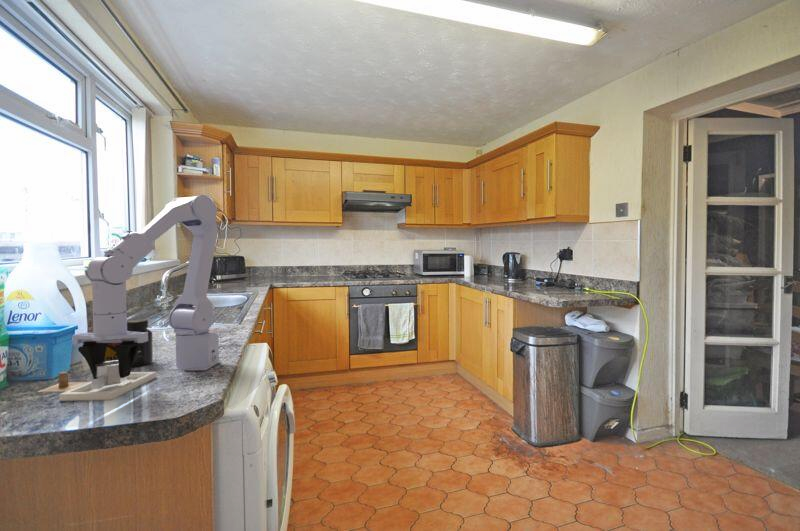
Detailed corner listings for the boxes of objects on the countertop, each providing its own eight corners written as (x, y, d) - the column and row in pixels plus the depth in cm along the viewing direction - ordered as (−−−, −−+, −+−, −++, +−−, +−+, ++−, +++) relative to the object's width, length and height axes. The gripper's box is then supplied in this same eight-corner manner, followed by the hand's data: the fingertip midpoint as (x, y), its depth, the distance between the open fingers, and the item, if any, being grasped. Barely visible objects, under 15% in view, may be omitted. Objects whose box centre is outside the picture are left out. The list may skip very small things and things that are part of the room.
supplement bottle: (128, 371, 95) (127, 323, 94) (116, 367, 98) (115, 321, 98) (158, 364, 100) (157, 319, 100) (145, 361, 104) (144, 317, 104)
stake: (88, 384, 85) (88, 368, 85) (65, 393, 79) (65, 376, 79) (61, 384, 85) (61, 369, 85) (36, 394, 79) (36, 377, 79)
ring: (131, 377, 83) (131, 359, 83) (108, 388, 77) (107, 369, 76) (108, 378, 83) (108, 360, 83) (83, 389, 76) (82, 369, 76)
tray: (156, 379, 88) (156, 371, 88) (111, 402, 74) (111, 393, 74) (112, 380, 88) (112, 372, 88) (59, 403, 74) (59, 394, 74)
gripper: (58, 316, 77) (60, 383, 77) (131, 315, 77) (133, 382, 77) (87, 311, 84) (88, 372, 84) (153, 310, 84) (155, 371, 84)
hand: (111, 376), depth 81 cm, fingers closed on ring, 5 cm apart
